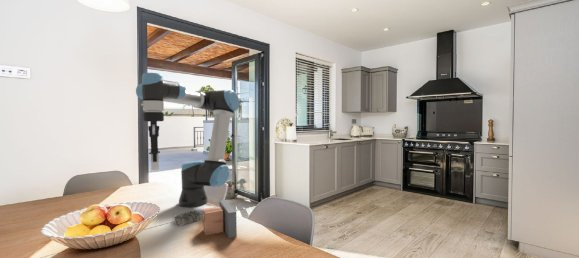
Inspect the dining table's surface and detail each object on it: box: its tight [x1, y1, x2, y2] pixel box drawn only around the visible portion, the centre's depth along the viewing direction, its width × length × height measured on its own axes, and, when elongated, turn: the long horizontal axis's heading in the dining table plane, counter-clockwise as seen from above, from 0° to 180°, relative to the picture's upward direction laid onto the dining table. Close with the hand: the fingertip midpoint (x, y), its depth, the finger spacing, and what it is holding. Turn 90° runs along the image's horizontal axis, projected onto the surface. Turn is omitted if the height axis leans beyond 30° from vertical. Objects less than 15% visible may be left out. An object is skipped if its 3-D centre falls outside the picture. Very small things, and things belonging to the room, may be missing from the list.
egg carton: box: [173, 209, 202, 226], centre depth 125 cm, size 11×8×4 cm
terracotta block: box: [202, 206, 224, 236], centre depth 113 cm, size 6×7×9 cm
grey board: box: [219, 199, 238, 239], centre depth 115 cm, size 18×3×10 cm, turn 25°
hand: (155, 169), depth 111 cm, fingers closed
